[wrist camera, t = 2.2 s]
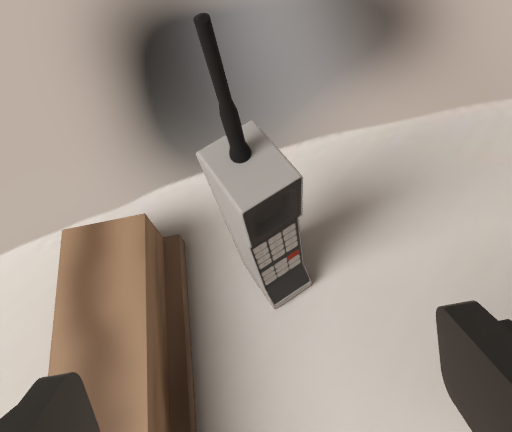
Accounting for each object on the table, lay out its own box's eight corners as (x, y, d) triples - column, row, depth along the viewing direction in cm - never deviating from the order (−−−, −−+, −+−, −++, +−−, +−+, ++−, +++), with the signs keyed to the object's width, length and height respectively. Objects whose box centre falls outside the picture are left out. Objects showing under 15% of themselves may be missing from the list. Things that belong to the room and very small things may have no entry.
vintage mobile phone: (275, 311, 35) (195, 87, 13) (244, 265, 37) (133, 13, 16) (312, 286, 36) (292, 33, 14) (279, 242, 38) (218, -31, 16)
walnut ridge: (184, 241, 39) (162, 210, 34) (202, 531, 29) (175, 549, 23) (81, 261, 40) (44, 233, 35) (61, 553, 29) (3, 575, 24)
